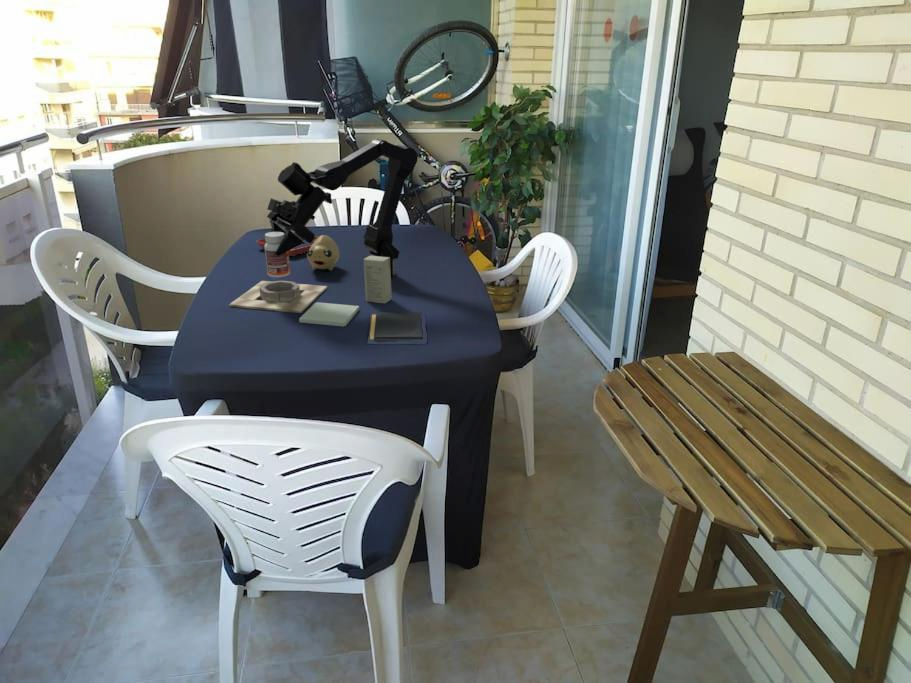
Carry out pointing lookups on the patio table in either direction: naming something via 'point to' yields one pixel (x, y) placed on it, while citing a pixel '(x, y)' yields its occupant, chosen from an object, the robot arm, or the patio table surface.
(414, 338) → the dark book
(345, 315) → the green mat
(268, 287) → the collar plate
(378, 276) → the skincare box
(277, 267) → the pill bottle
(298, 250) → the red square frame
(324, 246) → the beige toy figure
